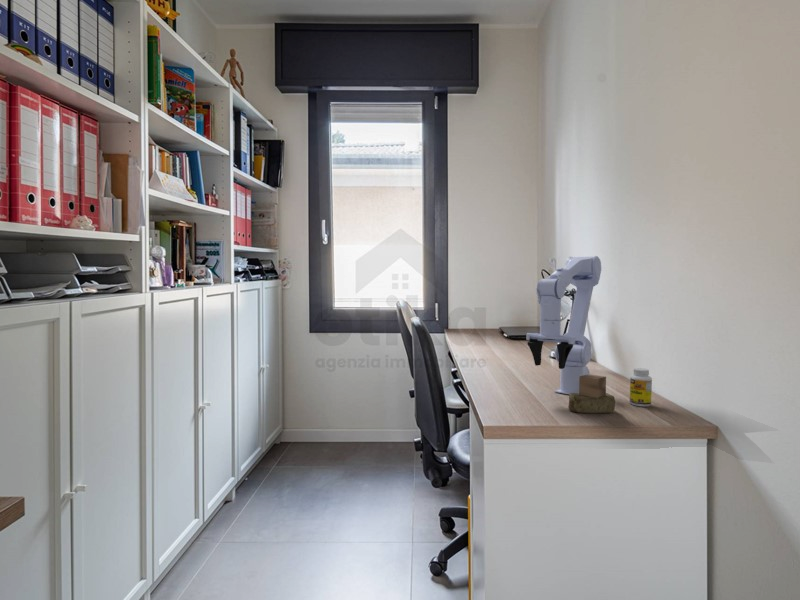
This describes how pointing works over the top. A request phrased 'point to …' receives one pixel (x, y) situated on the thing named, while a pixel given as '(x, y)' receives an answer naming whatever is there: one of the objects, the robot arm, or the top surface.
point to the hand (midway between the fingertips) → (549, 366)
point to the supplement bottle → (640, 388)
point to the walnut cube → (592, 385)
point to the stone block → (591, 403)
